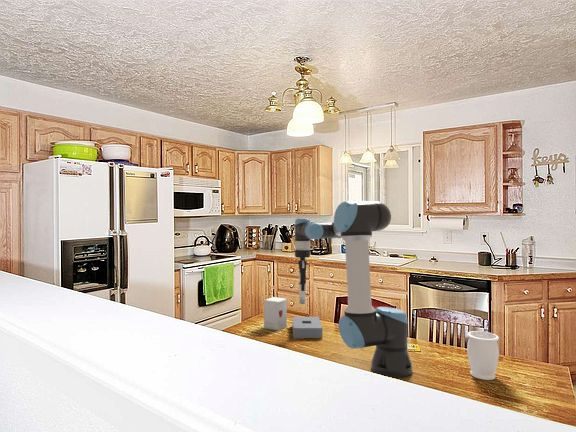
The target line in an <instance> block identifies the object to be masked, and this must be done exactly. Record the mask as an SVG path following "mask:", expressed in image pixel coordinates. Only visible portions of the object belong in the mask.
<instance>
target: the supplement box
mask: <svg viewBox="0 0 576 432" xmlns="http://www.w3.org/2000/svg"><path fill="white" fill-rule="evenodd" d="M287 301H288V299H287V298H285V297H277V296H272V297H269V298H266V299H263V307H264V308H263V309H264V310H263V329H267V330H273V331H280V330H283V329H284V328H286V326H287V323H288V322H287V319H288V318H287V317H288V316H287V312H288V311H287V310H288V309H287V307H288V306H287V305H288V304H287V303H288V302H287Z"/></svg>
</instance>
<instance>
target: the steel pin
mask: <svg viewBox="0 0 576 432" xmlns="http://www.w3.org/2000/svg"><path fill="white" fill-rule="evenodd" d="M298 279H299V280H298V282H299V283H300V273H299V272H298ZM299 283H298V285H299V286H298V289H299V291H298V292H299V293H298V297H299V299H298V300H299V301H298V303H299V305H305V304H306V297H300V284H299Z"/></svg>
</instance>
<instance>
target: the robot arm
mask: <svg viewBox="0 0 576 432" xmlns="http://www.w3.org/2000/svg"><path fill="white" fill-rule="evenodd" d="M391 221H392V213H391V211H390V209H389V207H388V206H387V205H386V204H385V203H383V202H380V201H378V200H377V201H376V200H375V201H374V200H372V201H371V200H369V201H368V200H346V201H343V202H340V203H339V204H338V206H337V207H336V209H335V212H334V216H333V222H311V220H310V218H303V217H301V218H296V219H295V220H294V243H293V245H295V246H294V249H295V250H294V257H295V258H298V259H299V260H298V270H299V272H298V274H299V273H300V283H298V285H299V284H300V297H305V298H306V294H307V292H306V289H307V288H306V287H307V286H306V283H307V275H306V274H307V271H306V270H307V260H306V259H307V258H310V257H311V250H310V249H311V240H319V239H342V240H343V241H344V243H345V244H344V245H345V248H344V249H345V267H346V269H345V270H346V285H347V286H346V289H347V306H346V307H345V308H344V311H343V313H344V315H342V317H340V318H339V321H338V332H339V334H340V338H341V340H342V341H343V343H344V344H345V345H346V347H348V348H350V349H353V350H354V349H364V348H369V347H374V346H375V350H374V353H373V356H372V358H371V360H370V361H371V362H370V363H371V370H372V371H373V372H374V373H376V374H379V375H381V376H384V375H385V376H384V377H390V378H403V377H408V376H410V375H411V374H412V373H413V365H412V361H411V358H410V355H409V352H408V316H407V313H406V312H405V311H403V310H402V309H398V308H395V307H394V308H393V307H389V306H377V307H376V308H375V307H374V306H373V305H372V290H371V287H372V286H371V271H370V269H371V268H370V251H369V250H370V249H369V240H370V239H371V238H372V237H373V232H378V231H383V230H385V229H386V228H387V227H388V226H390V223H391ZM377 372H378V373H377Z"/></svg>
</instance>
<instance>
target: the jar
mask: <svg viewBox="0 0 576 432" xmlns="http://www.w3.org/2000/svg"><path fill="white" fill-rule="evenodd" d="M467 338H468V340H467V344H466V345H467V346H466V347H467V348H466V353H467V358H468V363H469V367H470V369H471V370H470V371H469V372H470V373H469V374H470V375H471V376H472V377H474V378H476V379H479V380H483V381H491V380H492V381H493V380H495V379H496V374H495V373H496V370H497V367H498V361H499V355H500V351H499V343H498V341H499V339H500V337H499V335H497V334H495V333H492V332H489V331H482V330H470V331H468V332H467Z"/></svg>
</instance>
